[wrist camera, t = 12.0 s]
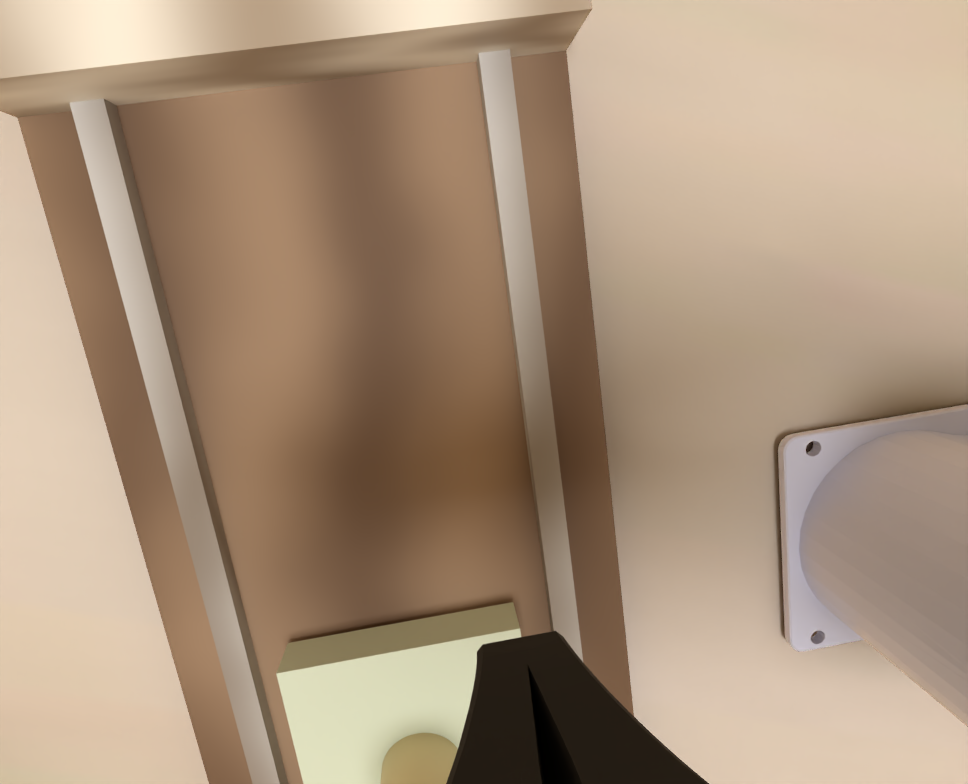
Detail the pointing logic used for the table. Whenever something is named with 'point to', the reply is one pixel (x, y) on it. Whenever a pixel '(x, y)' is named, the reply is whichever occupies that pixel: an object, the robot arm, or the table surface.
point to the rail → (329, 322)
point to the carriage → (387, 696)
